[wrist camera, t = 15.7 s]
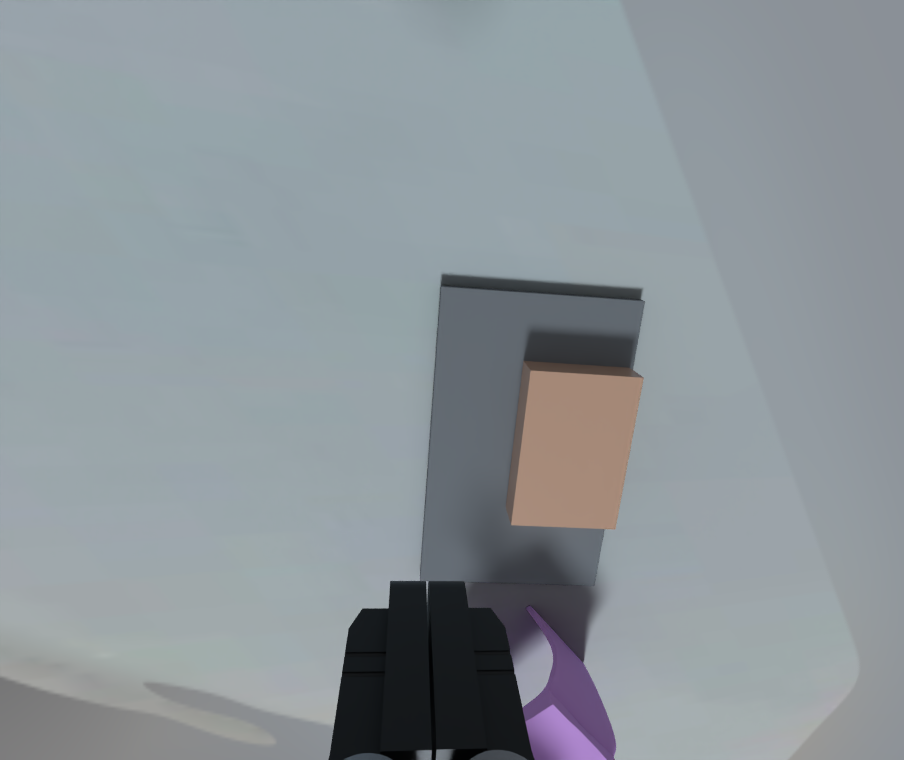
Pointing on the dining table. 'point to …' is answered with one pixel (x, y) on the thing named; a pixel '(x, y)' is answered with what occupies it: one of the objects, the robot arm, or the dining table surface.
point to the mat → (506, 429)
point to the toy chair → (567, 710)
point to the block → (571, 444)
